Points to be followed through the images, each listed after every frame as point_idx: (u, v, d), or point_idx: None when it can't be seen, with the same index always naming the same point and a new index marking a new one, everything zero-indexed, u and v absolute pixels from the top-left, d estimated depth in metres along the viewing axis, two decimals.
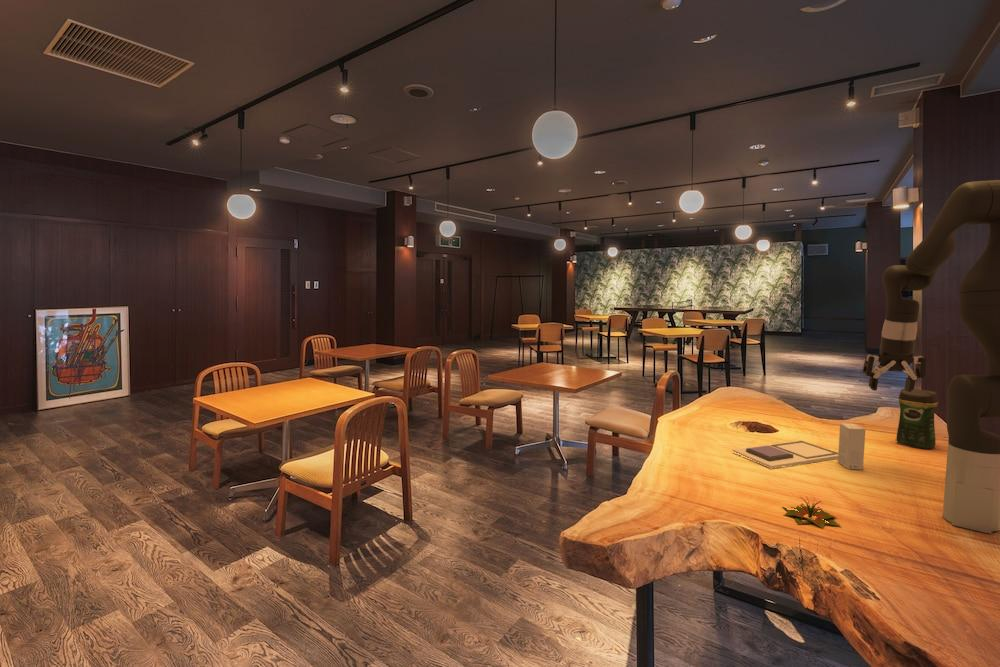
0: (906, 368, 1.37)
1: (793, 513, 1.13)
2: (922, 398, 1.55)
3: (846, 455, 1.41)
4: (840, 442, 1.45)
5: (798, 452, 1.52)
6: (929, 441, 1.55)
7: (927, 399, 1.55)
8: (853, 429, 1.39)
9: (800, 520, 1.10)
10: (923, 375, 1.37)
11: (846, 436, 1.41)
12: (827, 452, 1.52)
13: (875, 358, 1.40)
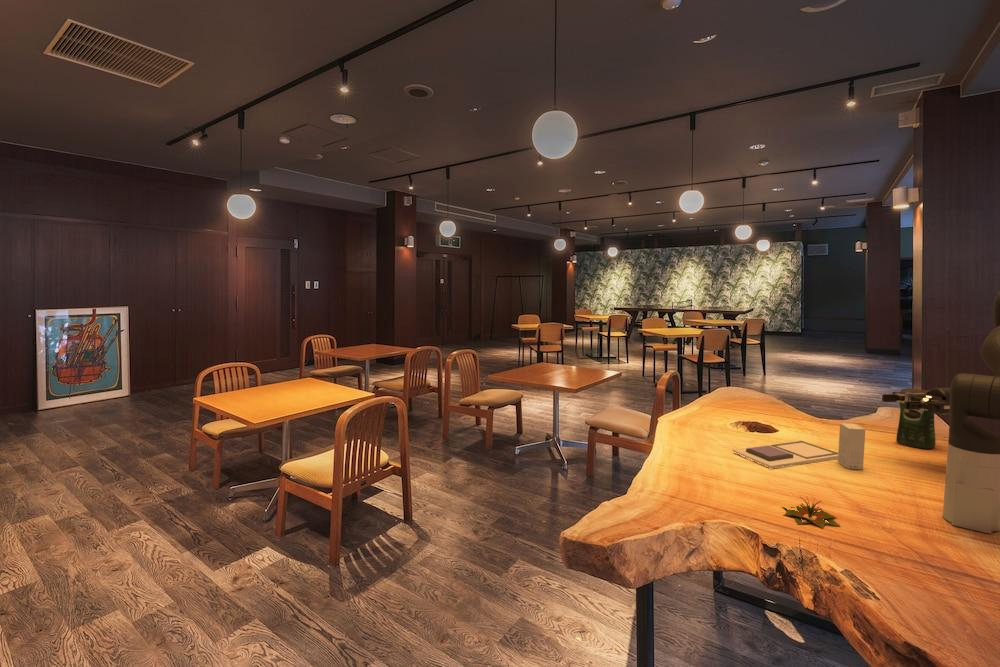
0: (926, 397, 1.38)
1: (793, 513, 1.13)
2: None
3: (846, 455, 1.41)
4: (840, 442, 1.45)
5: (798, 452, 1.52)
6: (929, 441, 1.55)
7: None
8: (853, 429, 1.39)
9: (800, 520, 1.11)
10: (932, 402, 1.34)
11: (846, 436, 1.41)
12: (827, 452, 1.52)
13: None
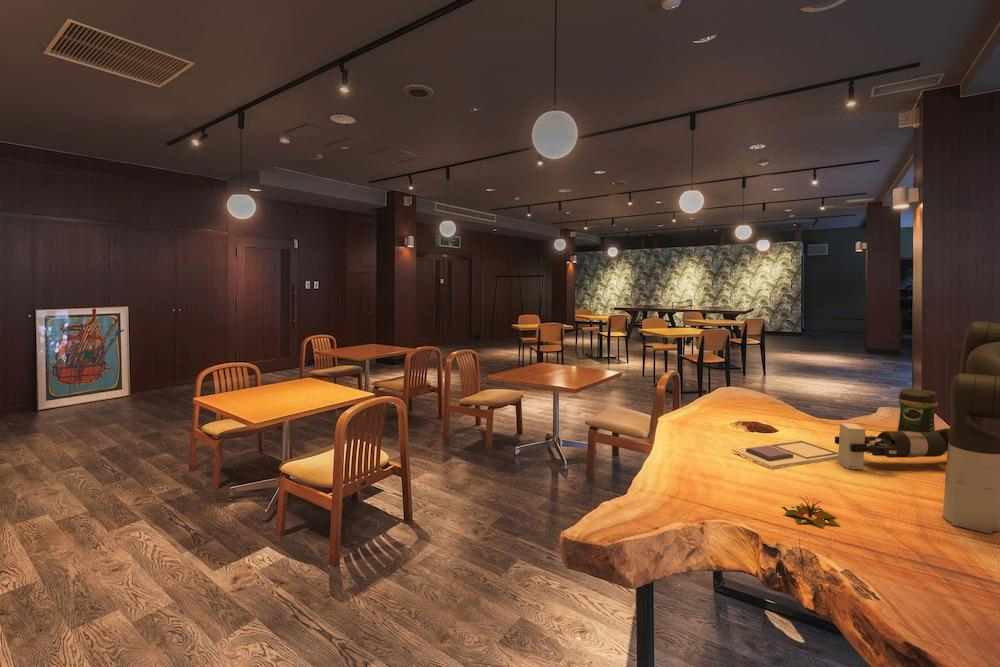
0: (875, 440, 1.40)
1: (793, 513, 1.13)
2: (922, 398, 1.55)
3: (846, 455, 1.41)
4: (840, 442, 1.45)
5: (798, 452, 1.52)
6: None
7: (927, 399, 1.55)
8: (853, 429, 1.39)
9: (800, 520, 1.11)
10: (876, 446, 1.36)
11: (846, 436, 1.41)
12: (827, 452, 1.52)
13: None
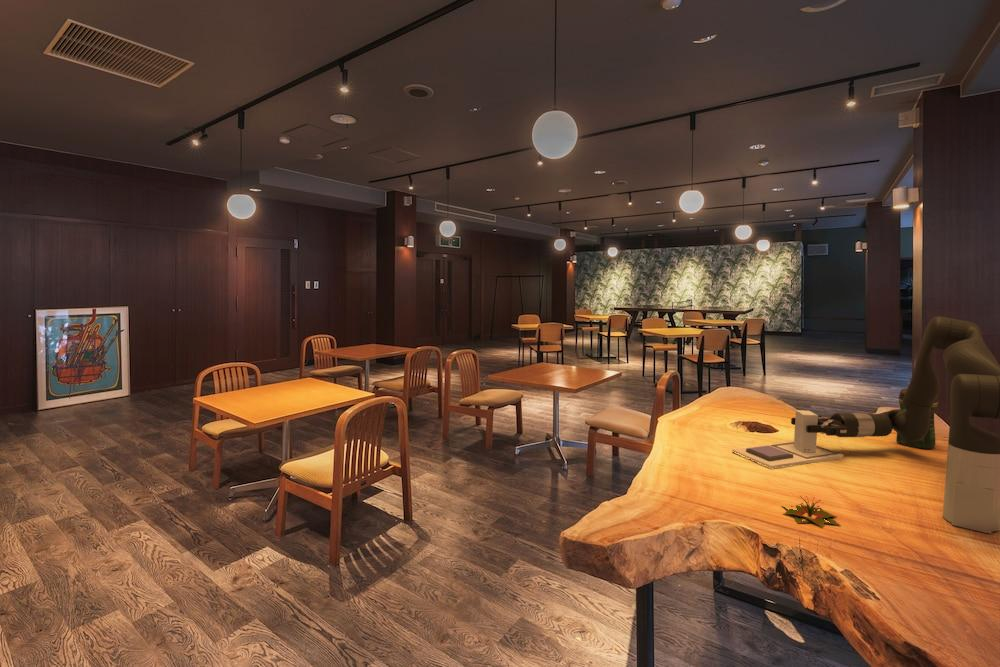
0: (827, 421, 1.51)
1: (793, 512, 1.14)
2: None
3: (801, 439, 1.52)
4: (796, 428, 1.56)
5: (798, 452, 1.52)
6: (929, 441, 1.55)
7: None
8: (807, 415, 1.51)
9: (800, 519, 1.11)
10: (829, 427, 1.47)
11: (800, 422, 1.53)
12: (827, 452, 1.52)
13: None
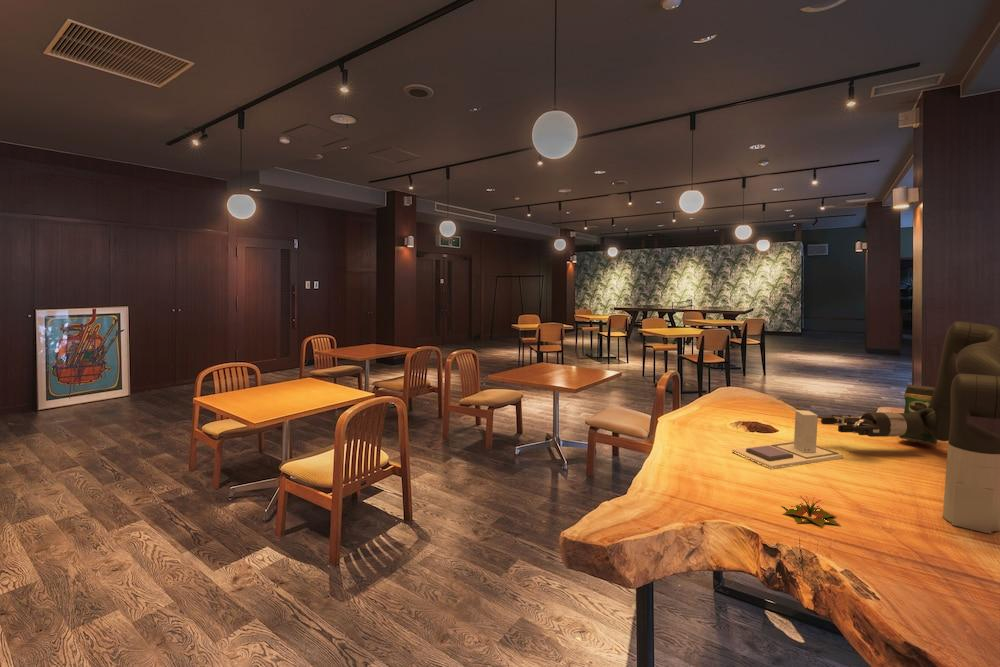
0: (859, 421, 1.51)
1: (793, 512, 1.14)
2: (929, 391, 1.58)
3: (801, 439, 1.52)
4: (796, 428, 1.56)
5: (798, 452, 1.52)
6: None
7: None
8: (806, 415, 1.51)
9: (800, 519, 1.11)
10: (862, 426, 1.46)
11: (800, 422, 1.53)
12: (827, 452, 1.52)
13: None
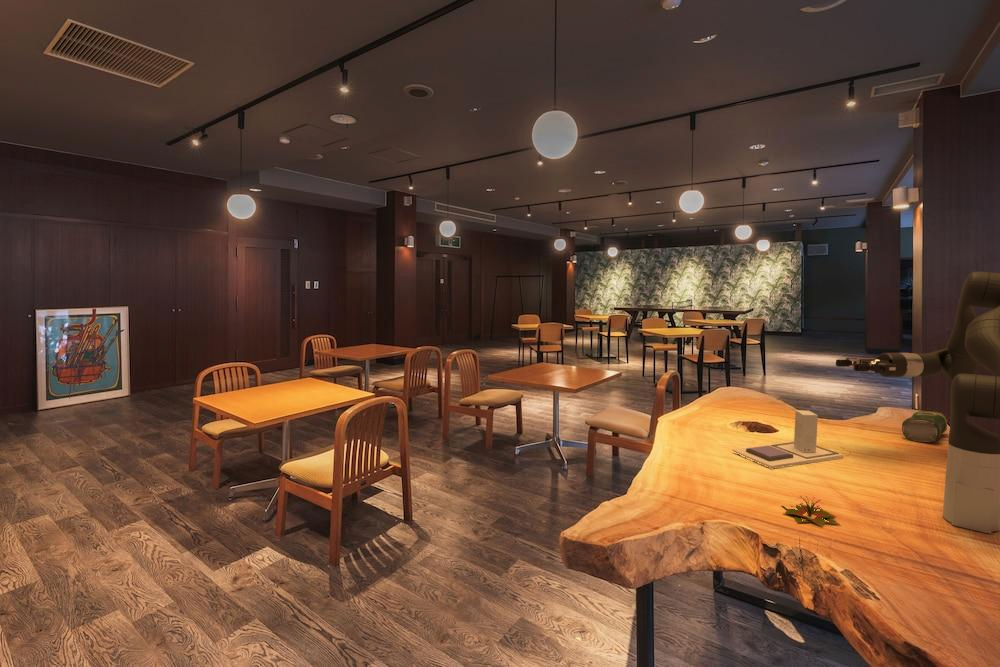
0: (874, 360, 1.49)
1: (793, 512, 1.14)
2: (938, 412, 1.71)
3: (801, 439, 1.52)
4: (796, 428, 1.56)
5: (798, 452, 1.52)
6: (937, 423, 1.61)
7: None
8: (806, 415, 1.51)
9: (799, 519, 1.11)
10: (878, 364, 1.44)
11: (800, 422, 1.53)
12: (827, 452, 1.52)
13: (865, 361, 1.56)
